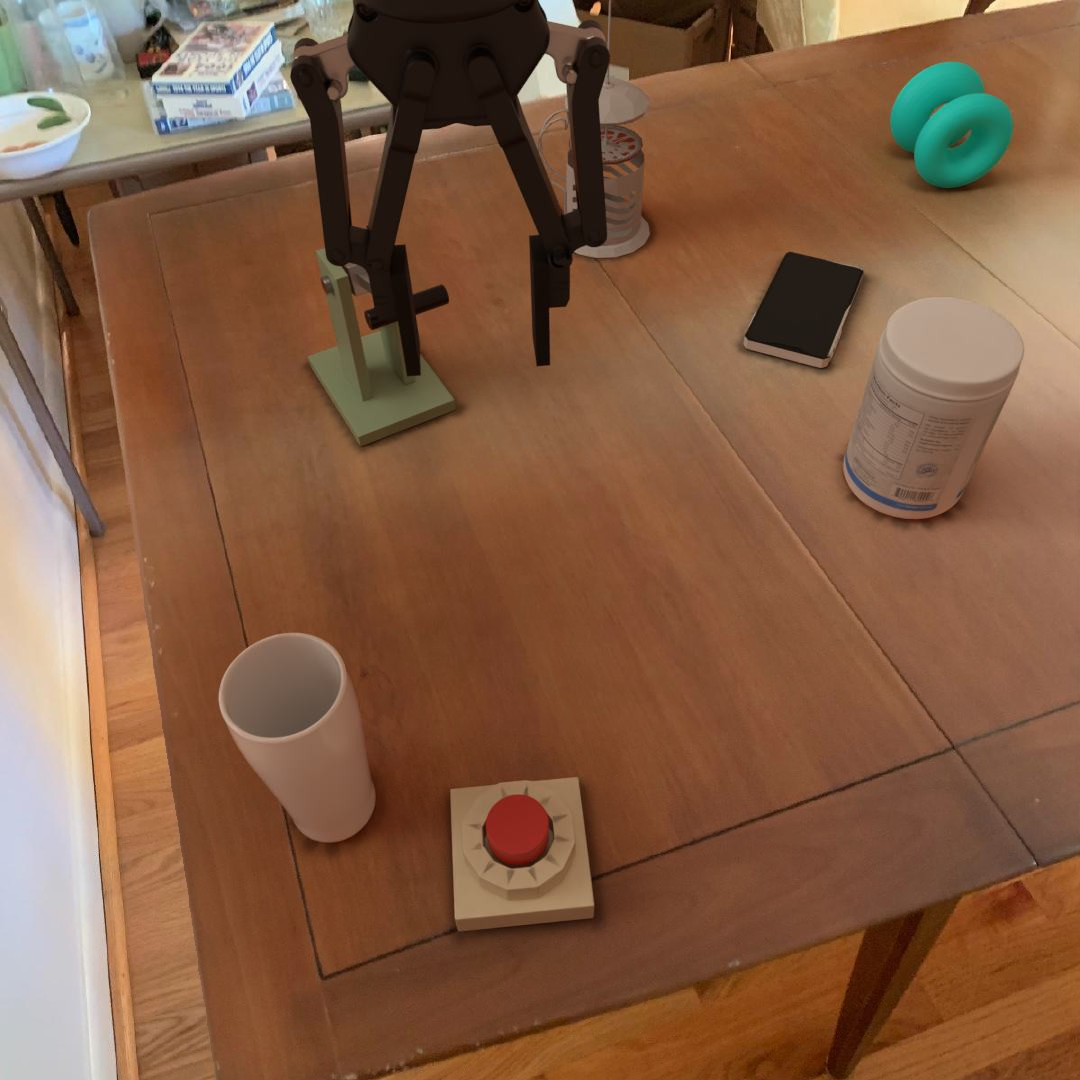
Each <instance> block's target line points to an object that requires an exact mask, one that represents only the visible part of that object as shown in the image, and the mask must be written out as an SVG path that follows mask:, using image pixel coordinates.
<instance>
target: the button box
mask: <svg viewBox="0 0 1080 1080" xmlns="http://www.w3.org/2000/svg"><path fill="white" fill-rule="evenodd" d="M516 794H520V795H526V796H529V797H532V798H534V799H535V800H537V801H538V802H539V803H540V804H541V805H542V806H543V807H544V809H545V811H546V813H547V815H548V820H549V841H548V845H547V847H546V849H545V851H544V852H543V853H542V855H541V856H540V857H539V858H537V859H536V860H534V861H533V862H531V863H528V864H525V865H511V864H507V863H505V862H503V861H501V860H500V859H498V858H497V857H496V856H495V855H494V854H493V852H492V851H491V849H490V846H489V843H488V838H487V832H486V819H487V816H488V813H489V811H490V810H491V808H492V807H493V806H494V804H496V803H497V802H498V801H499V800H501V799H502V798H504V797H507V796H510V795H516ZM449 795H450V800H449V801H450V825H451V852H452V853H451V855H452V879H453V880H452V881H453V883H452V884H453V908H454V909H453V910H454V911H453V912H454V922H455V925H456V929H457V932H469V931H478V930H487V929H497V928H499V929H500V928H508V927H518V926H529V925H536V924H538V925H539V924H548V923H558V922H568V921H577V920H588V919H593V918H594V916H595V900H594V891H593V890H594V889H593V883H592V874H591V866H590V859H589V850H588V843H587V835H586V834H587V833H586V827H585V820H584V819H585V818H584V812H583V811H584V810H583V804H582V803H583V802H582V795H581V787H580V779H579V777H578V776H574V777H563V778H552V779H539V780H528V779H526V780H525V779H523V780H513V781H504V782H498V783H497V784H488V785H478V786H477V785H476V786H467V787H457V788H450V789H449Z"/></svg>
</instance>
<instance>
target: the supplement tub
mask: <svg viewBox="0 0 1080 1080" xmlns="http://www.w3.org/2000/svg"><path fill="white" fill-rule="evenodd" d="M1024 344H1025V343H1024V341H1023V338H1022V336H1021V334H1020V331H1018V329H1017V328H1016V327H1015V325H1014V324H1013V323H1012V322H1011V321H1009V320H1008V319H1007V318H1006V317H1005V316H1004V315H1002V314H1000V313H999V312H997V311H996V310H995V309H992V308H990V307H988V306H986V305H983V304H981V303H978V302H975V301H971V300H968V299H963V298H958V297H951V296H934V297H933V296H932V297H926V298H920V299H916V300H913V301H911V302H908V303H906V304H903V305H902V306H900V307H899V308H897V310H896V311H894V312H893V313H892V314H891V316H890V317H889V319H888V320H887V323H886V326H885V329H884V331H883V332H882V334H881V336H880V338H879V343H878V346H877V348H876V352H875V355H874V357H873V361H872V363H871V364H872V365H871V368H870V371H869V375H868V378H867V381H866V385H865V388H864V391H863V393H862V397H861V401H860V404H859V408H858V410H857V414H856V417H855V421H854V422H853V423H854V424H853V427H852V431H851V434H850V437H849V441H848V443H847V447H846V450H845V453H844V457H843V463H842V465H843V466H842V467H843V468H842V469H843V475H844V477H845V481H846V483H847V485H848V487H849V489H850V490H851V491H852V493H853V494H854V495H855V496H856V498H858V500H860V501H861V502H862V503H864V504H865V505H866V506H868V507H870V508H871V509H873V510H874V511H877V512H879V513H881V514H884V515H886V516H890V517H894V518H897V519H898V518H899V519H904V520H906V519H907V520H920V519H921V520H922V519H928V518H933V517H935V516H939V515H942V514H943V513H945V512H947V511H949V510H950V509H951V508H952V507H954V505H956V504H957V502H958V501H959V500H960V498H961V497H962V496H963V494H964V492H965V490H966V488H967V486H968V484H969V482H970V479H971V477H972V475H973V472H974V470H975V468H976V467H977V464H978V462H979V460H980V458H981V456H982V453H983V451H984V450H985V447H986V446H987V443H988V440H989V439H990V436H991V434H992V432H993V430H994V428H995V426H996V423H997V421H998V419H999V417H1000V415H1001V413H1002V410H1003V408H1004V406H1005V404H1006V402H1007V400H1008V398H1009V396H1010V393H1011V391H1012V388H1013V387H1014V384H1015V382H1016V380H1017V377H1018V375H1019V372H1020V366H1021V364H1022V361H1023V360H1024V355H1025V345H1024Z"/></svg>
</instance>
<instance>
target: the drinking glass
mask: <svg viewBox="0 0 1080 1080" xmlns="http://www.w3.org/2000/svg"><path fill="white" fill-rule="evenodd" d="M345 664H346V663H345V662H344V660H343V658H342V656H341V655H340V653H339V651H338V650H337V649H336V648H335V647H334V646H333V645H332V644H331V643H329V641H326V640H324V639H323V638H321V637H319V636H316V635H312V634H310V633H302V632H283V633H278V634H274V635H270V636H267V637H265V638H262V639H259V640H258V641H256V642H254V643H252V644H251V645H249V646H247V647H246V648H245V649H244V650H242V651H241V652H239V654H238V655H237V656H236V657H235V658H234V659H233V660H232V661H231V663H230V664H229V666H228V667H227V669H226V670H225V672H224V673H223V676H222V679H221V682H220V684H219V689H218V705H219V710H220V713H221V716H222V718H223V720H224V722H225V723H224V724H225V725H226V727H227V729H228V732H229V734H230V736H231V738H232V740H233V741H234V743H235V745H236V747H237V749H238V751H239V752H240V754H241V755H242V757H243V759H244V760H245V762H247V764H248V765H249V766H250V768H251V769H252V770H253V771H254V773H255V774H256V775H257V776H258V778H259V779H260V781H262V783H263V784H264V785H265V786H266V787H267V789H268V790H269V791H270V793H271V794H273V796H274V798H275V799H276V800H277V801H278V803H279V804H280V805H281V806H282V808H283V809H284V810H285V811H286V812H287V814H288V815H289V817H290V818H291V820H292V822H293V824H294V825H295V827H296V829H298V831H299V832H300V833H301V834H302V835H304V836H305V837H307V838H308V839H309V840H312V841H315V842H319V843H326V844H327V843H328V844H329V843H338V842H342V841H345V840H347V839H349V838H352V837H353V836H354V835H356V834H357V833H359V832H360V831H361V830H362V829H363V828H364V827H365V826H366V825H367V823H368V822H369V820H370V819H371V817H372V815H373V813H374V810H375V806H376V798H377V795H376V787H375V784H374V781H373V778H372V773H371V769H370V763H369V758H368V751H367V744H366V738H365V731H364V723H363V718H362V711H361V708H360V704H359V700H358V696H357V692H356V689H355V687H354V683H353V681H352V678H351V676H350V673H349V671H348V669H347V667H346V665H345Z"/></svg>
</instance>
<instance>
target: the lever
mask: <svg viewBox="0 0 1080 1080" xmlns="http://www.w3.org/2000/svg"><path fill="white" fill-rule="evenodd" d="M341 267H342V268H343V269H344V271H345V272H346V273H347V275H348V278H349V282H350V287H351V292H352V296H354V297H356V298H357V297H359V296H363V295H366V294H371V295H372V292H371V287H370V282H369V276H368V273H367V272H366V270H365V269H364V268H363V267H361V266H359V265H356V264H352V263H348V264H346V265H344V266H341ZM413 299H414V306H415V313H416V316H417V315H420V314H423V313H426V312H429V311H432V310H434V309H438V308H440V307H443V306H446V305H448V304H449V303H450V297H449V292H448V290H447V288H446V286H445V285H444V284H443V283H442V284H441V283H440V284H436V285H435V286H432V287H429V288H426V289H423V290H421V291H417V292H415V293H414V292H413ZM363 313H364V314H363V315H364V319H365V322H366V324H367V326H368V328H369V329H370V330H371V331H375V330H379V329H380V328H381V327H384V326H387V325H389V324H392V323H395V322H398V320H388V321H380V319H379V318H378V316H377V315H376V314H375V309H374V307H372V308H371V307H370V308H369V309H366V310H364V312H363Z"/></svg>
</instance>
